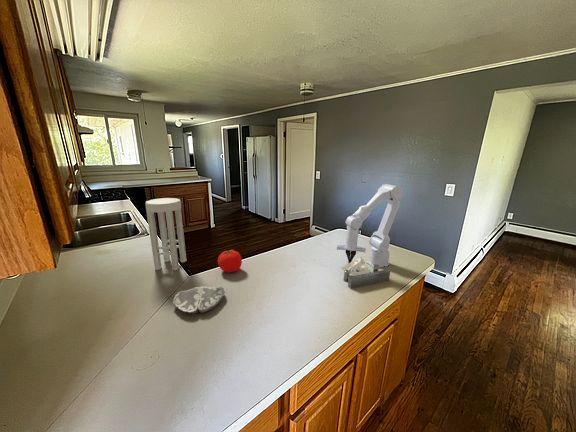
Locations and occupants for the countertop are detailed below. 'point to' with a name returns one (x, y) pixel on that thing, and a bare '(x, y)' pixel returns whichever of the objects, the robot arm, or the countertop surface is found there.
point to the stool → (168, 207)
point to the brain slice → (198, 299)
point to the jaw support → (357, 267)
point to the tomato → (229, 261)
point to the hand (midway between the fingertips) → (349, 263)
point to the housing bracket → (366, 277)
